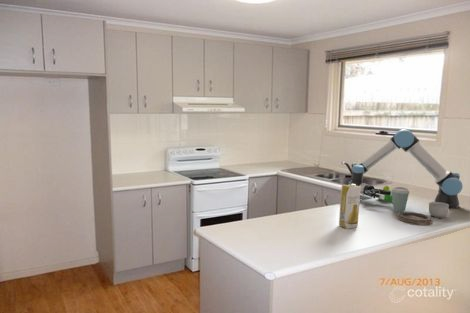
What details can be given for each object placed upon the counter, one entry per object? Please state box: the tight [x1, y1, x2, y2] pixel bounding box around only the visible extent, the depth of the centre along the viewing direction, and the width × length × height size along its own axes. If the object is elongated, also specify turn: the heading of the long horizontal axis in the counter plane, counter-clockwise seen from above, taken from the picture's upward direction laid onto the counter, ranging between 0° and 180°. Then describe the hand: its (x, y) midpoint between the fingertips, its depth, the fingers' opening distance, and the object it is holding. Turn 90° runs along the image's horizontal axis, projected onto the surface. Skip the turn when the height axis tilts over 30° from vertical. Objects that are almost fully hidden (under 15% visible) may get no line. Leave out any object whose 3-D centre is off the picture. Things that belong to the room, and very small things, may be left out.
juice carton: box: [338, 184, 361, 230], centre depth 202 cm, size 9×8×24 cm
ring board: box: [396, 211, 433, 226], centre depth 220 cm, size 19×19×2 cm
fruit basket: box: [377, 185, 393, 203], centre depth 266 cm, size 11×9×11 cm
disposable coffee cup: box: [390, 186, 410, 213], centre depth 238 cm, size 11×11×15 cm
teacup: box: [428, 201, 450, 219], centre depth 231 cm, size 14×11×8 cm
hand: (391, 196), depth 242 cm, fingers open, 13 cm apart
